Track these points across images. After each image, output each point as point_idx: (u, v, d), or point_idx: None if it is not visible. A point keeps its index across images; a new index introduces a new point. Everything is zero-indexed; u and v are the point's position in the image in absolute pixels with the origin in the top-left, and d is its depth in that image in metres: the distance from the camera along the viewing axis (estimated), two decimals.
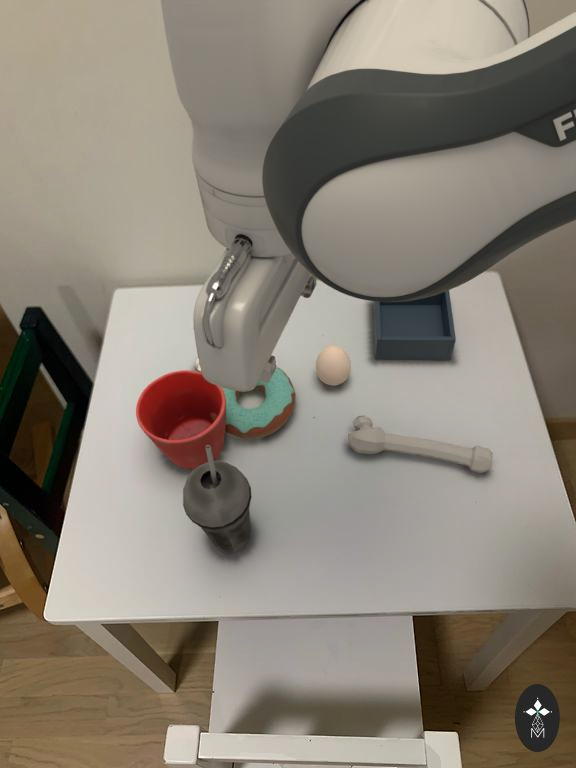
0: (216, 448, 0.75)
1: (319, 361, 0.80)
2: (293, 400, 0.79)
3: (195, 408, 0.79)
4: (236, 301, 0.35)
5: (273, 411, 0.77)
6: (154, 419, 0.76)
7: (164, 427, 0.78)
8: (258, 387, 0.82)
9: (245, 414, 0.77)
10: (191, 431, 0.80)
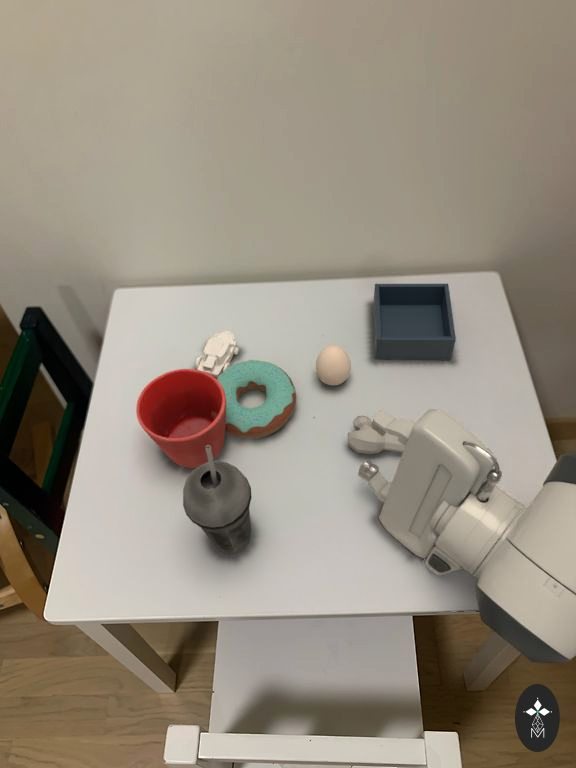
0: (216, 447, 0.75)
1: (319, 361, 0.80)
2: (294, 400, 0.79)
3: (196, 407, 0.80)
4: (477, 475, 0.56)
5: (273, 411, 0.77)
6: (154, 417, 0.76)
7: (164, 425, 0.78)
8: (259, 387, 0.82)
9: (245, 413, 0.77)
10: (191, 430, 0.80)
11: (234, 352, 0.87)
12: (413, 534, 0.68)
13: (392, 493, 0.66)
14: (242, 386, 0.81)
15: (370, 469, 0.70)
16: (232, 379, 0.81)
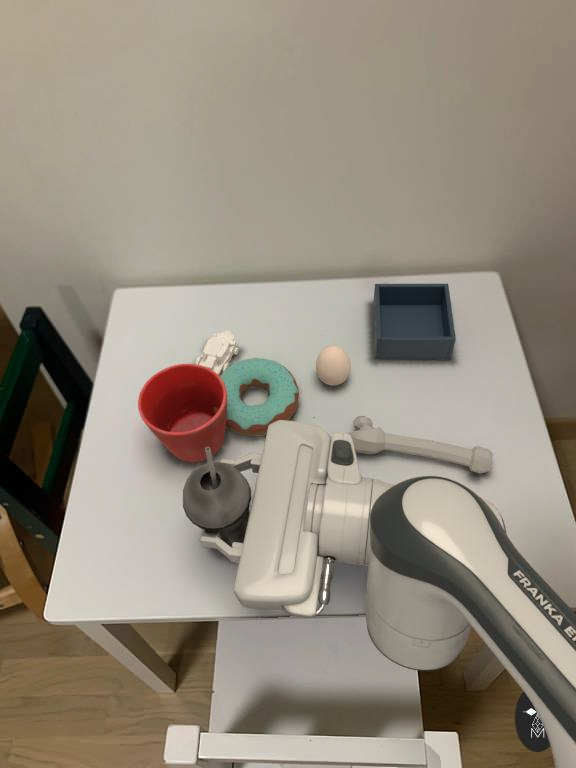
0: (215, 443, 0.75)
1: (319, 361, 0.80)
2: (296, 400, 0.79)
3: (198, 402, 0.80)
4: None
5: (275, 410, 0.77)
6: (156, 410, 0.76)
7: (167, 418, 0.79)
8: (263, 385, 0.82)
9: (247, 411, 0.77)
10: (193, 424, 0.80)
11: (234, 352, 0.87)
12: None
13: None
14: (246, 383, 0.82)
15: None
16: (236, 376, 0.81)
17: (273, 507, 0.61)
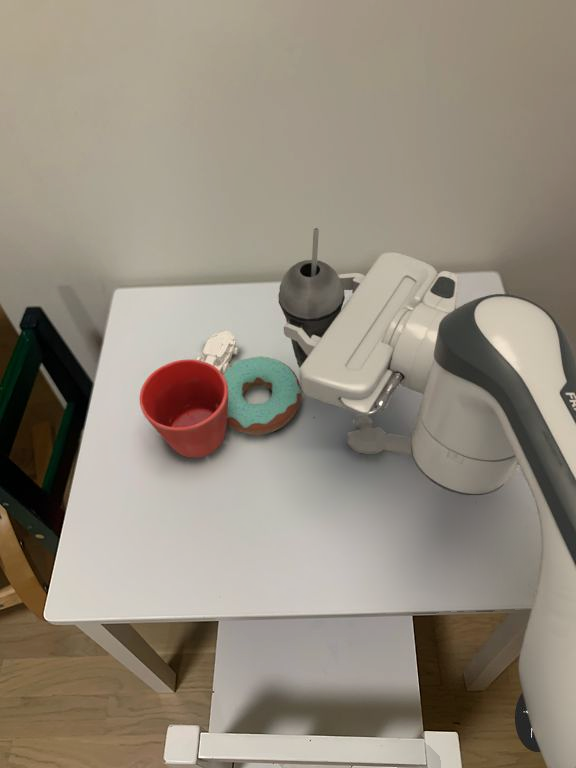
0: (215, 439, 0.76)
1: None
2: (298, 400, 0.79)
3: (201, 398, 0.80)
4: None
5: (276, 409, 0.77)
6: (158, 404, 0.77)
7: (169, 413, 0.79)
8: (266, 384, 0.82)
9: (248, 409, 0.77)
10: (195, 420, 0.81)
11: (233, 352, 0.87)
12: None
13: None
14: (249, 381, 0.82)
15: None
16: (239, 374, 0.81)
17: (360, 316, 0.62)
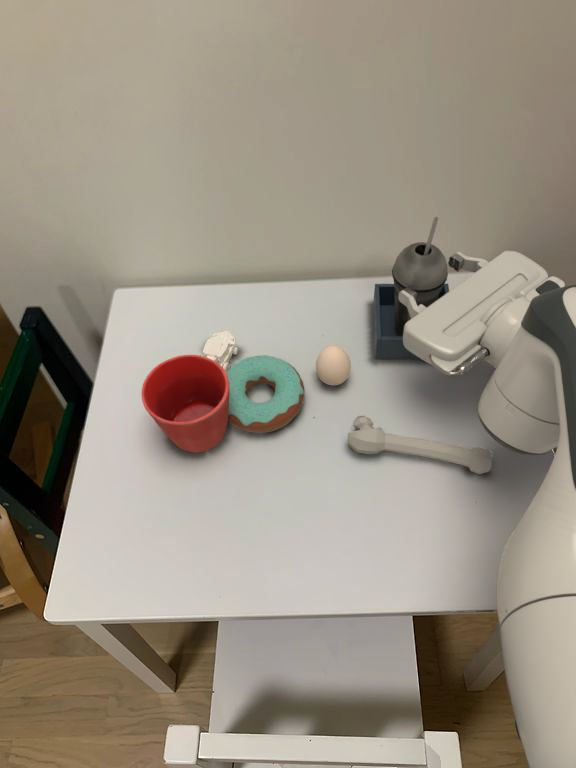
0: (215, 436, 0.76)
1: (319, 361, 0.80)
2: (300, 401, 0.79)
3: (204, 393, 0.81)
4: None
5: (277, 409, 0.77)
6: (161, 397, 0.77)
7: (171, 407, 0.80)
8: (270, 383, 0.82)
9: (249, 407, 0.78)
10: (197, 415, 0.81)
11: (233, 352, 0.87)
12: None
13: None
14: (253, 380, 0.82)
15: (456, 264, 0.79)
16: (244, 371, 0.81)
17: (469, 296, 0.73)
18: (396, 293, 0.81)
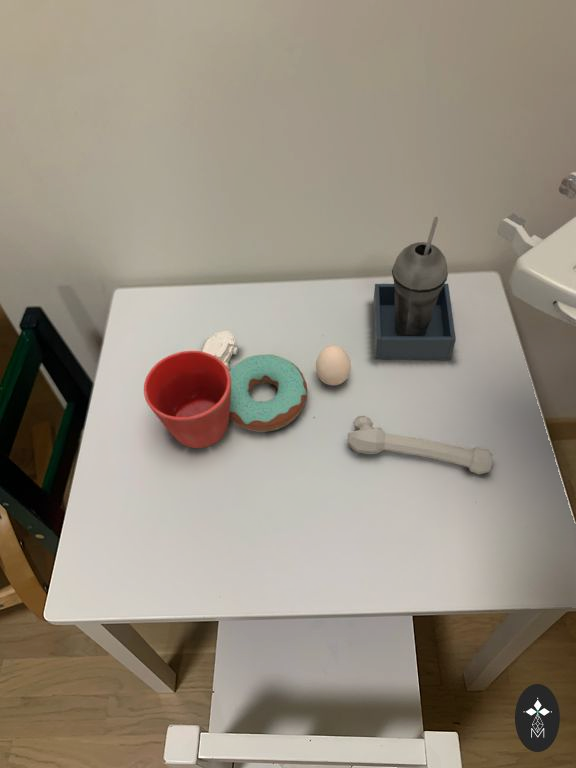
0: (215, 432, 0.76)
1: (319, 361, 0.80)
2: (302, 402, 0.79)
3: (207, 390, 0.81)
4: None
5: (278, 409, 0.77)
6: (164, 392, 0.78)
7: (174, 401, 0.80)
8: (273, 382, 0.82)
9: (251, 406, 0.78)
10: (199, 411, 0.81)
11: (233, 352, 0.87)
12: None
13: None
14: (257, 378, 0.82)
15: (571, 189, 0.59)
16: (247, 370, 0.81)
17: None
18: (396, 293, 0.81)
